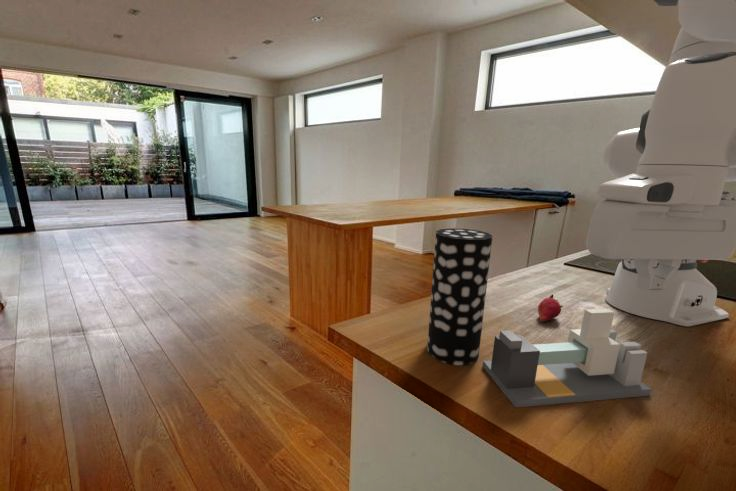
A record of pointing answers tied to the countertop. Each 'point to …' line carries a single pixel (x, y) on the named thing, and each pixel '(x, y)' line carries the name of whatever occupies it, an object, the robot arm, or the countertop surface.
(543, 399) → the board
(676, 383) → the countertop surface
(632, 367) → the gray notched block
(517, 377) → the block
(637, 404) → the countertop surface
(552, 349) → the pale teal rod
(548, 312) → the fruit
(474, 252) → the white-spotted black cylinder
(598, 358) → the sleeve
